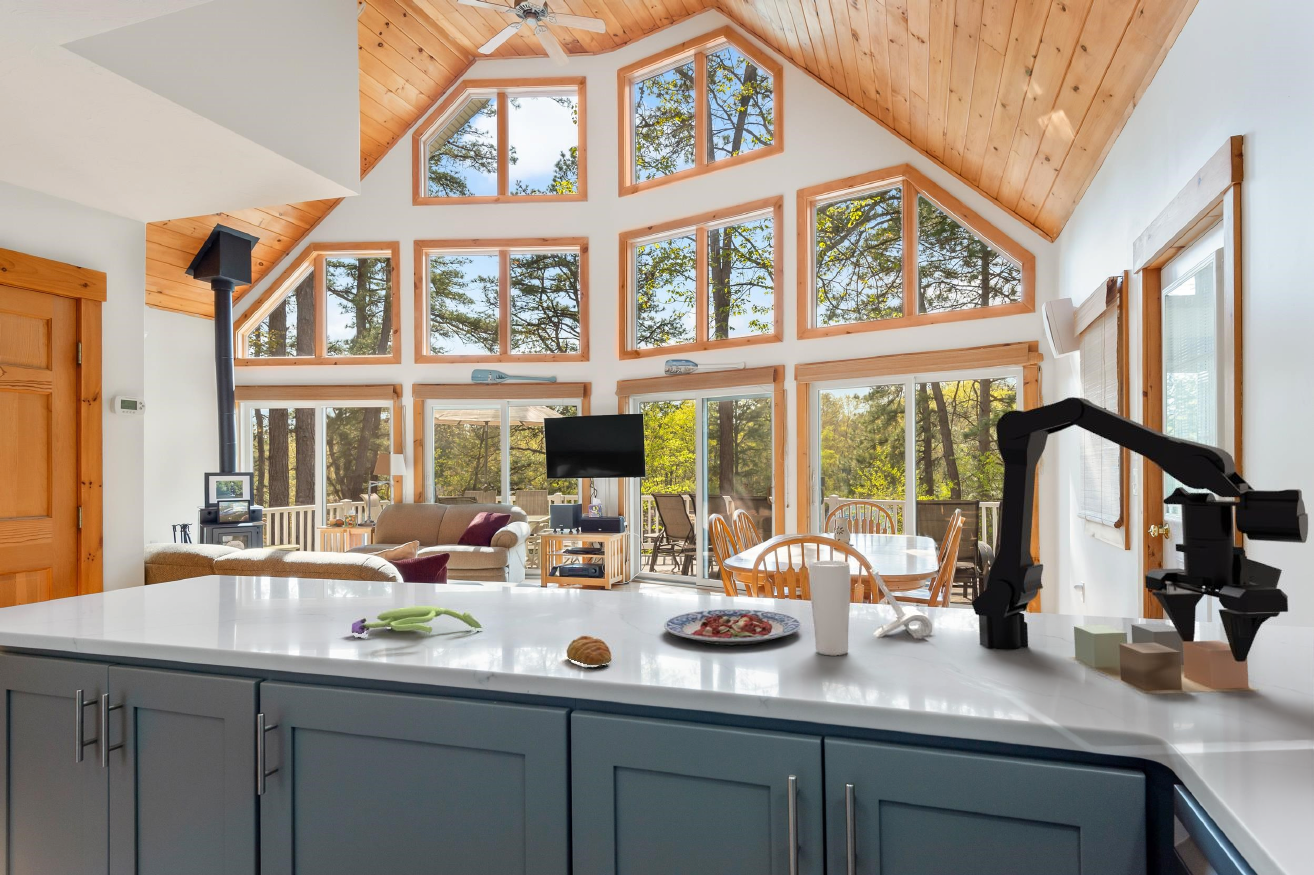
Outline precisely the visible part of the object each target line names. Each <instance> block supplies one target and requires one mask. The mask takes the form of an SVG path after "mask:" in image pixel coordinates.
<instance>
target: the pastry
mask: <svg viewBox="0 0 1314 875" xmlns="http://www.w3.org/2000/svg"><path fill="white" fill-rule="evenodd" d="M566 657H568V658H569V659H571V660H574V661H577V662H580V663H583V664H587V665H602V664H606V663H609V662H610V663H611V662H612V653H611V650H610V648H609V646H608V645H607V643H605V641H603V640H602V639H599V638H594V637H592V636H588V635H581V636H578V638H576V639H573V640H572V641H571V642H570V644H568V646H567V648H566ZM568 658H567V659H568ZM610 663H609V664H610Z"/></svg>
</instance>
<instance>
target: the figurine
mask: <svg viewBox="0 0 1314 875" xmlns="http://www.w3.org/2000/svg"><path fill="white" fill-rule="evenodd" d="M441 615H447V616H449V617H452V618H455V619H457V620H460V621H461V622H463V623H465V624H467V625H468V626H469V627H470V626H471V627H470V628H472V627H474V629H475V630H476V628H482V629H483V627H482V625H481V624H480V622H478V621H477V620H476V619H475V618H474V617H473V616H472V615H471V614H470V613H469V612H466V611H465V612H463V614H462V613H461V612H457V611H455V610H453V609H449V608H441V607H439V606H438V607H437V606H429V605H428V606H427V605H426V606H425V605H424V606H422V605H421V606H408V607H401V608H397V609H396V608H395V609H391V610H388V611H384V612H382V613H380V614H379V615H377V617H376V619H377V620H379V621H378V622H373V623H372V622H371V623H370V622H367V619H366V618H364V617H363V618H362V619H360V620H357V621H355V622H353V623H352V624H351V633H358V634H362V633H364V632H365V631H367V630H368V631H370V630H371V629H379V628H384V627H385V626H386V627H391V628H392V629H391V630H394V631H396V632H400V631H401V632H402V631H420V632H424V633H428V634H431V633H432V631H433V628H432V626H428V625H425V624H424V623H429V622H431V621H432V620H433V619H434V618H436V617H440V616H441ZM386 627H385V628H386ZM368 631H367V632H368Z"/></svg>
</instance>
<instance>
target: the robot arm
mask: <svg viewBox="0 0 1314 875" xmlns="http://www.w3.org/2000/svg"><path fill="white" fill-rule="evenodd" d="M995 425H996V426H995V433H996V441H997V449H998V452H999V454H1000V456H1001V459H1002V462H1003V465H1004V466H1003V467H1004V469H1003V482H1002V483H1003V484H1002V497H1001V498H1002V500H1001V518H1000V528H999V529H1000V530H999V531H1000V533H999V545H998V546H999V548H998V552H997V554H996V556H995V557H994V559H993V561H992V564H991V566H990V569H989V572H988V576H987V579H986V584H985V589H984V590H983V591H982V592H981V593H980V594H979V595H978V596H976V598H974V600H973V601H971V606H972V608H973V610H974V613H975V615H976V616H978V628H979V629H978V630H979V631H978V632H979V633H978V634H979V645H981V646H982V647H984V648H986V649H989V650H998V651H1016V650H1020V649H1026V648H1028V647H1029V634H1028V631H1029V630H1028V622H1026V621H1025V614H1024V613H1022V612H1025V611H1027V609H1028V606H1029V603H1030V602H1031V601H1033V600H1034V599H1036V598H1037V596H1038V594H1039V591H1040V590H1043V588H1044V586H1043V584H1042V574H1043V572H1044V564H1042V563H1035V562H1034V558H1033V556H1032V553H1031V543H1032V540H1031V539H1032V531H1033V530H1032V529H1033V514H1034V499H1035V498H1034V497H1035V486H1036V485H1035V484H1036V482H1035V481H1036V468H1037V466H1038V462H1039V461H1040V459H1041V457H1042V455H1043V453H1044V451H1045V447H1046V445H1047V441H1048V437H1049V435H1051V434H1055V433H1058V432H1062V431H1063V430H1065V429H1068V428H1070V427H1074V426H1076V427H1079V428H1082V429H1083V430H1086V431H1088V432H1090V433H1093V434H1095V435H1096V436H1099V437H1101V438H1103V439H1105V440H1107V441H1109V442H1112V443H1114V444H1116V445H1119V446H1121V447H1123V448H1125V449H1126V450H1127V449H1128V450H1130V451H1131V452H1134V453H1136V454H1138V455H1140V456H1143V457H1145V458H1146V459H1148V460H1149V461H1151V462H1152V463H1154V464H1155V465H1157V467H1158V468H1160V469H1161V470H1162V471H1164V473H1165V474H1168V475H1169V476H1170V477H1172V478H1173V479H1175V480H1176V481H1178V482H1179V483H1181V484H1182V485H1184V486H1185V487H1188V488H1191V489H1194V490H1207V491H1210V492H1189V491H1187V490H1186V489H1185V488H1184V487H1181V486H1180V487H1176V488H1174V491H1173V492H1171V494H1169V496H1167V497H1166V498H1164V499H1163V501H1162V503H1163V504H1165V505H1176V506H1177V505H1180V507H1181V508H1180V509H1181V529H1182V543H1175V552H1180V553H1183V568H1156V569H1155V568H1151V569H1150V570H1149V571H1148V572H1147V573H1146V574H1145V575H1144V580H1145V583H1144V584H1145V588H1146V589H1148V590H1153V591H1151V595H1152V596H1154V597H1155V598H1156V599H1157V601H1158V602H1159V604H1160V605H1161V606H1162V608H1163V610H1164V612H1165V613H1166V615H1167V616H1168V618H1169V619H1170V621H1171V623H1172V625H1173V627H1175V628H1176V630H1177V632H1178V633H1179V635H1180V637H1181V638H1182V640H1183V642H1190V641H1194V640H1195V634H1196V633H1195V632H1196V607H1197V605H1198V604H1199V602H1200V601H1201V599H1203V597H1204V596H1205V595H1206V596H1209V597H1215V598H1217V599H1218V601H1219V603H1220V604H1221V606H1222V607H1223V609H1222V608H1221V609H1218V612H1219V617H1220V619H1221V623H1222V626H1223V628H1224V631H1225V632H1224V633H1225V636H1226V639H1227V642H1228V644H1229V646H1230V649H1231V652H1232V654H1233V657H1234V659H1235V661H1237V662H1244V661H1245V660H1246V658H1247V659H1248V655H1249V653H1250V650H1251V648H1252V646H1253V643H1254V641H1255V638H1256V636H1257V633H1258V632H1259V629H1260V627H1262V624H1264V623H1265V622H1266V621H1268V620H1269V619H1271V618H1275V617H1279V615H1280V613H1288V612H1289V603H1288V602H1289V600H1288V599H1289V598H1288V595H1287V594H1286V593H1285V592H1284V591H1283V590H1282V589H1280V588H1278V585H1279V581H1280V578H1281V575H1282V569H1280V568H1278V567H1274V566H1271V565H1268V564H1265V563H1263V562H1261V561H1256V560H1252V559H1250V558H1248V556H1247V555H1246V549H1244V547H1243V546H1240V545H1236V544H1235V528H1234V526H1236V529H1237V531H1238V532H1239V533H1240V534H1242V535H1243V534H1245V535H1246V537H1247V539H1248V540H1250V541H1258V542H1259V541H1263V542H1278V543H1279V542H1282V543H1297V544H1299V543H1301V544H1305V543H1306V542H1307V539H1308V534H1309V514H1308V513H1306V508H1305V503H1304V500H1303V494H1302V490H1301V489H1299V488H1298V489H1296V488H1294V489H1293V488H1292V489H1291V488H1290V489H1281V490H1266V489H1265V490H1260V489H1259V490H1258V489H1257V490H1255V489H1254V488H1253V487H1252V486H1251V485H1250V484H1249V483H1248V482H1247V481H1246V480H1245V479H1244V478H1243V477H1242V476H1241V475H1240V474H1239V473H1238V472H1237V470H1236V464H1235V462H1234V459H1233V457H1232V455H1231V454H1230V453H1229V452H1228V451H1226V450H1225V449H1222V448H1219V447H1216V446H1212V445H1208V444H1204V443H1201V442H1197V441H1193V440H1188V439H1184V438H1179V437H1174V436H1172V435H1171V436H1170V435H1167V434H1164V433H1162V432H1160V431H1158V430H1155V429H1153V428H1150V427H1148V426H1146V425H1143V424H1141V423H1138V422H1136V421H1134V420H1132V419H1130V418H1127V417H1124V416H1122V415H1121V414H1118V413H1115V412H1113V411H1111V410H1109V409H1106V408H1104V407H1101V406H1099V405H1097V404H1095V403H1093V402H1091V401H1090V400H1089V399H1087V398H1085V397H1084V398H1083V397H1074V396H1073V397H1067V398H1066V397H1065V398H1064V399H1063V400H1060V401H1057V402H1054V403H1050V404H1046V405H1043V406H1039V407H1034V408H1032V409H1029V410H1018V409H1016V410H1009V411H1007V412H1004V414H1002V415H1001V416H1000V417H999V418H998V419H997V421H996V424H995ZM1215 495H1216V496H1219V497H1221V498H1239V499H1238V500H1225V499H1224V500H1222V499H1221V500H1218V499H1216V496H1215ZM1234 507H1235V522H1234ZM1234 523H1235V524H1234Z"/></svg>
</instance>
